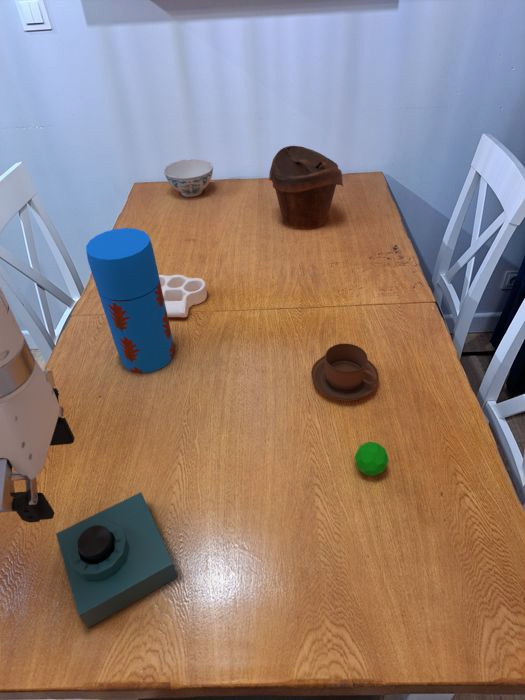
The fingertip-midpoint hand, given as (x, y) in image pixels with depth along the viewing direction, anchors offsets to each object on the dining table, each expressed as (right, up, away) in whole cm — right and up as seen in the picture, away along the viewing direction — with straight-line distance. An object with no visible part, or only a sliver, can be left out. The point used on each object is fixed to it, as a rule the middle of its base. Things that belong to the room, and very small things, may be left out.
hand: (51, 477), depth 54 cm
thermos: (+1, +13, +43) cm, 45 cm away
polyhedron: (+40, -4, +21) cm, 46 cm away
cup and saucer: (+39, +8, +35) cm, 53 cm away
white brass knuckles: (+2, +25, +57) cm, 62 cm away
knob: (+3, -11, +7) cm, 13 cm away
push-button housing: (+4, -14, +12) cm, 19 cm away
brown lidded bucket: (+36, +51, +83) cm, 104 cm away
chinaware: (+1, +64, +100) cm, 119 cm away
